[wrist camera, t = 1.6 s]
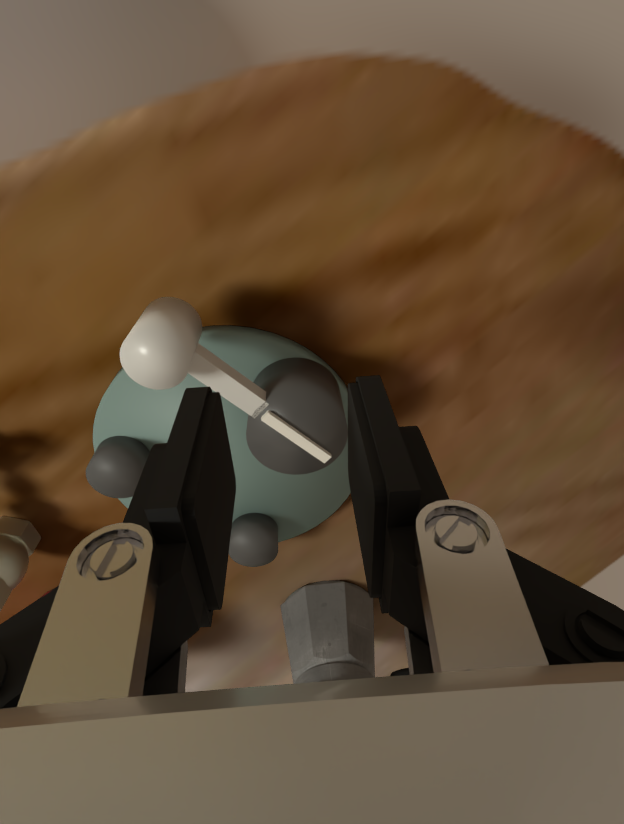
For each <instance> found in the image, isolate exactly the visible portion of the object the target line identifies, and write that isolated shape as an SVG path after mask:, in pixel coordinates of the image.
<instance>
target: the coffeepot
mask: <svg viewBox="0 0 624 824" xmlns="http://www.w3.org/2000/svg"><path fill="white" fill-rule="evenodd" d="M281 612H282V618H283V624H284V629H285V635H286V641H287V647H288V653H289V659H290V665H291V671H292V677H293V683H294V684H298V683H311V682H323V681H336V680H349V679H362V678H375V666H374V614H373V598H370V596H369V593H368V592H367V591H365V590H364V589H362V588H361V587H359V586H357V585H354V584H352V583H348V582H343V581H321V582H315V583H312V584H309V585H306V586H304V587H301V588H299V589H298V590H296V591H295V592H293V593H292V594H291V595H290V596H289V597H288V598H287V600H286V601H285V602H284V603H283V604H282V605H281ZM402 675H410V673H409V668H405V669H400V670H397V671H395V672H392V674H391V676H402Z"/></svg>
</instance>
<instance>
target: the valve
mask: <svg viewBox="0 0 624 824" xmlns="http://www.w3.org/2000/svg"><path fill="white" fill-rule="evenodd" d="M40 540H41V536H40V535H39V533H38V532H37V530H36V529H35V528H34V526H33V525H32V523H31V522H30V521H27V520H22V519H17V518H12V517H7V516H2V517H1V518H0V611H1V609H2V608H3V606H4V604H5V602H6V600H7V599H8V597H9V595H10V593H11V591H12V589H14V588H15V587H16V586H17V585H18V584H19V583H20V582H21V580H22V579H23V577H24V575H25V573H26V571H27V568H28V563H29V556H30V555H31V554H33V552H34V550H35V548H36V547H37V545H38V543H39V541H40Z"/></svg>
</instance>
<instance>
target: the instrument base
mask: <svg viewBox="0 0 624 824" xmlns="http://www.w3.org/2000/svg"><path fill="white" fill-rule="evenodd" d="M198 343H199V344H200V345H202V346H203V347H204V348H206V349H207V350H209V351H210V352H211V353H213V354H214V355H216V356H217V357H218V358H220V359H221V360H223V361H224V362H225V363H227V364H228V365H229V366H231V367H232V368H234V369H235V370H236V371H238V372H239V373H241V374H242V375H243V376H245V377H246V378H248V379H249V380H250V381H252V382H254V380H255V379H256V377H257V375H258V374H259V373H260V372H261V371H262V370H263V369H264V368H265V367H267V366H268V365H270V364H272V363H274V362H276V361H278V360H282V359H286V358H306V359H310V360H313V361H316V362H318V363H320V364H322V365H323V366H325V367H326V368H327V369H328V370H329V371H331V373H332V374H333V375H334V377H335V378H336V380H337V382H338V385H339V388H340V393H341V398H342V403H343V408H344V412H345V417H346V422H347V427H348V389H347V387H346V385H345V384H344V382H343V381H342V380H341V378H340V377H339V376H338V375H337V373H336V372H335V371H334V370H333V369H332V368H331V367H330V366H329V365H328V364H327V363H326V362H325V361H323V360H322V359H321V358H320V357H319V356H317V355H316V354H314V353H313V352H311V351H310V350H309V349H307V348H306V347H304V346H302V345H300V344H298V343H296V342H294V341H292V340H290V339H288V338H285V337H282V336H280V335H277V334H274V333H272V332H268V331H263V330H259V329H255V328H249V327H241V326H207V327H202V334H201V337H200V339H199V342H198ZM195 387H207V386H206V385H205V384H203V383H202V382H200V381H199V380H197V379H196V378H194V377H193V376H191V375H190V374H188V373H187V375H186V377H185V379H184V380H183V381H182V382H181V383H180V384H178V385H177V386H175V387H172V388H169V389H163V390H156V389H150V388H147V387H144V386H142V385H140V384H138V383H136V382H135V381H134V380H132V379H131V378H130V377H129V376H128V375H127V373H126V372H125V371H124V369H123V367H122V368H121V369H120V371H119V372H118V373H117V375H116V376H115V378H114V379H113V381H112V383H111V384H110V386H109V387H108V389H107V391H106V392H105V394H104V395H103V397H102V400H101V402H100V404H99V407H98V409H97V412H96V416H95V421H94V426H93V444H94V452H95V453H94V455H93V457H92V459H91V460H90V462H89V464H88V466H87V468H86V477H87V480H88V482H89V484H90V485H91V486H92V487H93V488H94V489H95V490H96V491H98V492H99V493H101V494H103V495H106V496H109V497H112V498H118V499H119V500H120V501H121V502H122V503H123V504H124V505H125V506H126V507H127V508H129V505H130V502H131V500H132V497H133V495H134V492H135V489H136V487H137V484H138V481H139V479H140V476H141V474H142V471H143V468H144V466H145V463H146V461H147V458H148V455H149V453H150V450H151V448H152V446H153V445H154V444H159V443H167V441H168V438H169V435H170V432H171V430H172V427H173V424H174V421H175V418H176V415H177V412H178V409H179V406H180V403H181V400H182V397H183V394H184V391H185V389H186V388H195ZM211 390H212V389H211ZM212 392H215V391H213V390H212ZM221 400H222V406H223V411H224V417H225V422H226V428H227V433H228V439H229V444H230V450H231V455H232V461H233V466H234V472H235V478H236V495H235V503H234V512H233V520H232V528H231V537H230V545H229V555H230V557H231V558H232V559H233V560H234V561H235V562H237V563H239V564H241V565H244V566H250V567H257V566H262V565H266V564H268V563H270V562H271V561H273V560H274V559H275V557H276V556H277V553H278V542H281V541H284V540H287V539H290V538H293V537H295V536H298V535H300V534H302V533H305V532H307V531H308V530H310V529H312V528H314V527H316V526H317V525H319V524H320V523H321V522H323V521H324V520H326V519H327V518H328V517H330V516H331V515H332V514H333V513H334V512H335V511H336V510H337V509H338V508H339V507H340V506H341V505H342V504H343V502H344V501H345V500H346V499H347V498H348V496H349V494H350V493H351V491H350V485H349V478H348V438H347V442H346V445H345V447H344V449H343V451H342V453H341V454H340V455H339V457H338V458H337V459H336V460H335V461H334V462H332V463H331V464H330V465H328V466H326V467H325V468H323V469H321V470H318V471H315V472H312V473H308V474H301V475H292V474H284V473H280V472H276V471H274V470H271V469H269V468H268V467H266V466H264V465H263V464H261V463H260V462H259V461H258V460H257V459H256V458H255V457H254V456H253V454H252V453H251V451H250V449H249V447H248V444H247V440H246V430H247V420H248V414H247V413H246V412H244V411H243V410H241V409H240V408H238V407H237V406H235V405H234V404H233V403H231V402H230V401H228V400H227V399H225V398H224V397H222V396H221Z"/></svg>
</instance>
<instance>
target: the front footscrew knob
mask: <svg viewBox="0 0 624 824" xmlns="http://www.w3.org/2000/svg"><path fill="white" fill-rule="evenodd" d="M201 334H202V322H201V319H200V317H199V315H198V313H197V312H196V310H195V309H194V308H193V307H192V306H191V305H190V304H188V303H187V302H185V301H183V300H181V299H178V298H174V297H162V298H158V299H156V300H154V301H153V302H151V303H150V304H149V305H148V306H147V307H146V309H145V310H144V312H143V313H142V315H141V316H140V318H139V319H138V321H137V322H136V324H135V325H134V327H133V328H132V330H131V331H130V333H129V334H128V336H127V337H126V339H125V340H124V342H123V343H122V346H121V349H120V361H121V364H122V367H123V369H124V371H125V372H126V373H127V375H128V376H129V377H130V378H131V379H132V380H134V381H135V382H136V383H138V384H140V385H142V386H144V387H147V388H150V389H156V390H163V389H169V388H172V387H175V386H177V385H178V384H180V383H181V382H182V381H183V380H184V379H185V377H186V375H187V373H188V374H190V375H191V376H193V377H194V378H196V379H197V380H199V381H200V382H202V383H203V384H205V385H206V386H207V387H210V388H211V389H212V390H213V391H215V392H219V393H220V395H221V396H222V397H224V398H225V399H227V400H228V401H230V402H231V403H233V404H234V405H235V406H237V407H238V408H240V409H241V410H243V411H244V412H246V413H247V414H248V420H247V430H246V440H247V444H248V447H249V449H250V451H251V453H252V454H253V456H254V457H255V458H256V459H257V460H258V461H259V462H260V463H261V464H263V465H264V466H266V467H268V468H269V469H271V470H274V471H276V472H280V473H284V474H292V475H301V474H308V473H312V472H315V471H318V470H321V469H323V468H325V467H326V466H328V465H330V464H331V463H332V462H334V461H335V460H336V459H337V458H338V457H339V455H340V454H341V453H342V451H343V449H344V447H345V445H346V442H347V438H348V427H347V422H346V417H345V412H344V408H343V403H342V398H341V393H340V388H339V385H338V382H337V380H336V378H335V377H334V375H333V374H332V373H331V371H329V370H328V369H327V368H326V367H325V366H323V365H322V364H320V363H318V362H316V361H313V360H310V359H306V358H286V359H282V360H278V361H276V362H274V363H272V364H270V365H268V366H267V367H265V368H264V369H263V370H262V371H261V372H260V373H259V374H258V375H257V377H256V379H255V380H254V382H252V381H250V380H249V379H248V378H246V377H245V376H243V375H242V374H241V373H239V372H238V371H236V370H235V369H234V368H232V367H231V366H229V365H228V364H227V363H225V362H224V361H223V360H221V359H220V358H218V357H217V356H216V355H214V354H213V353H211V352H210V351H209V350H207V349H206V348H204V347H203V346H202V345H200V344H199V343H198V342H199V339H200V337H201Z"/></svg>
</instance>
